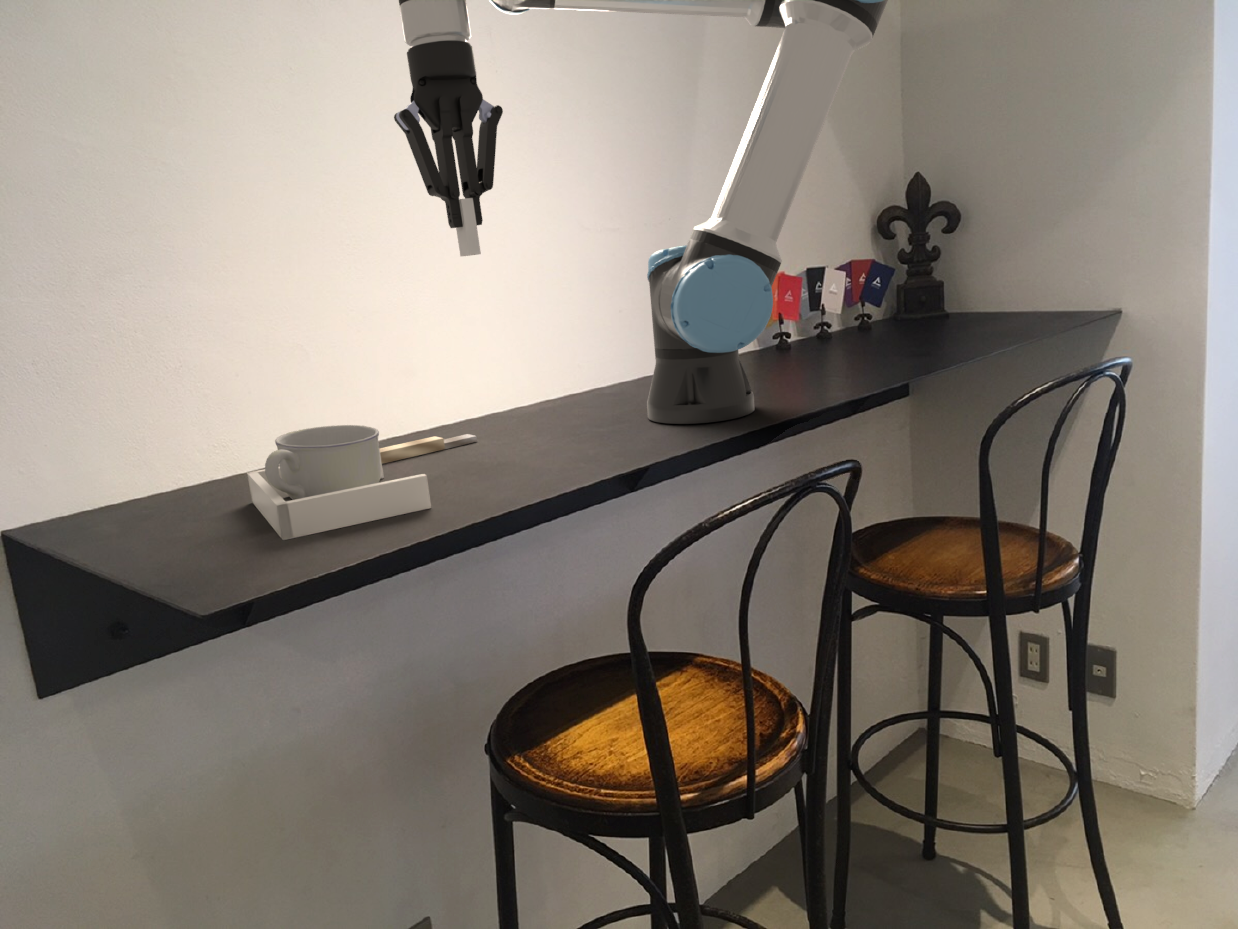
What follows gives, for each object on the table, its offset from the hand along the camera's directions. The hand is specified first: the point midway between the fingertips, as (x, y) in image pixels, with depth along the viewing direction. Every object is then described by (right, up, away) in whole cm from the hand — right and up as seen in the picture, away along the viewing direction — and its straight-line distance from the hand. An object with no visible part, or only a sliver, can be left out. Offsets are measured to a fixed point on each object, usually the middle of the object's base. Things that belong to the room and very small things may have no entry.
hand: (470, 255), depth 116 cm
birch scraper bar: (-11, -24, +11) cm, 29 cm away
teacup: (-14, -30, -11) cm, 35 cm away
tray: (-13, -29, -10) cm, 34 cm away
